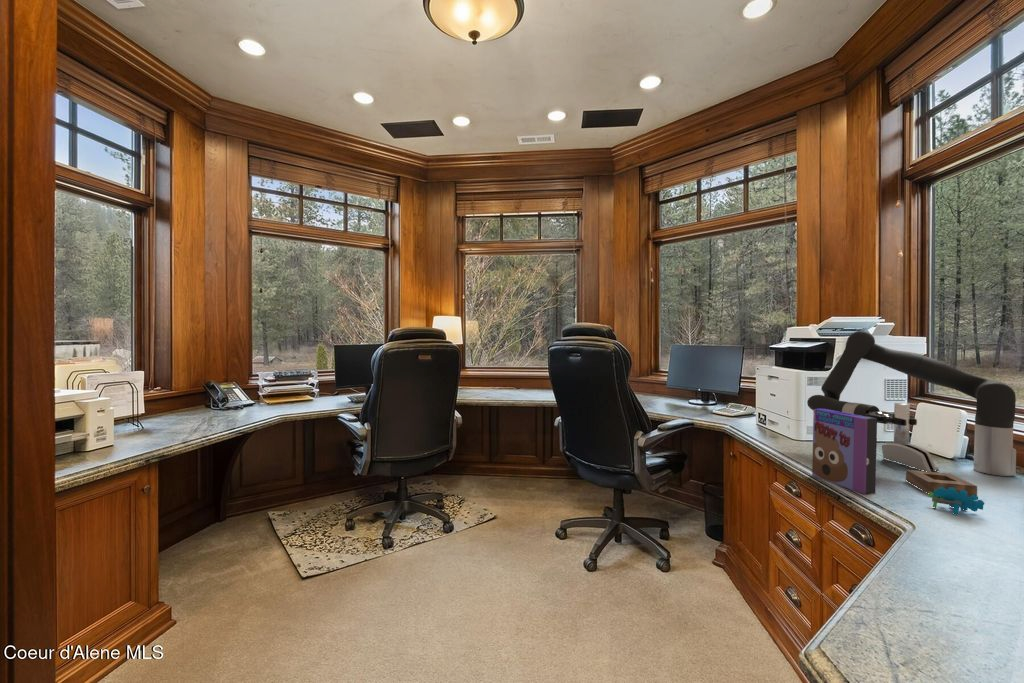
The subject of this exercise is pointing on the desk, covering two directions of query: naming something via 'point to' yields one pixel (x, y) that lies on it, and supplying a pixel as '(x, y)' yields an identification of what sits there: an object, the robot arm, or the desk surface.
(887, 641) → the desk surface
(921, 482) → the socket block
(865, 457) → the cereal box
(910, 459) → the grey curved block
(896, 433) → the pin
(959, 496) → the toy stegosaurus
